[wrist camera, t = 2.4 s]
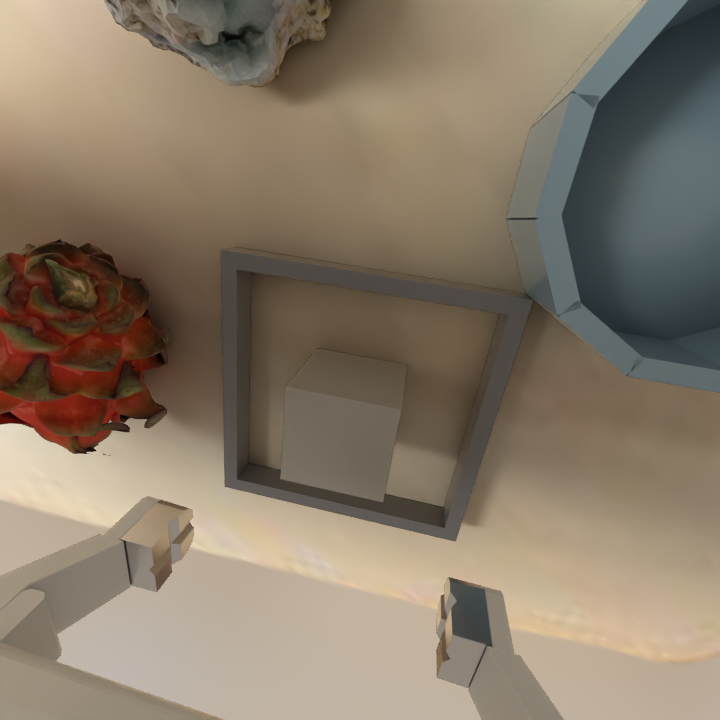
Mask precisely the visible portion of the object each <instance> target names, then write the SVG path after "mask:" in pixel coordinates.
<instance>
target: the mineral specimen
mask: <svg viewBox="0 0 720 720" xmlns="http://www.w3.org/2000/svg"><path fill="white" fill-rule="evenodd" d="M104 1H105V3H106V5H107V7H108V8H109V10H110V12H111V14H112V16H113V17H114V19H115V21H116V23H117V24H119V25H121V26H122V27H124V28H125V29H126V30H127V31H132V32H136V33H139V34H140V35H142V36H144V37H145V38H147V39H149V41H150V42H151V44H152V45H153V46H154V47H156V48H159V49H162V50H170V51H173V52H176V53H178V54H181V55H182V56H184V57H186V58H187V59H188V60H189V61H190V62H191V63H192V64H194V65H197V66H199V67H201V68H203V69H205V70H207V71H209V72H210V73H211V74H212V75H213V76H214V77H215V78H217V79H218V80H220V81H222V82H223V83H225V84H227V85H229V86H241V85H250V86H252V87H263V86H265V85H266V84H268V83H269V82H271V81H272V80H274V79H276V78H277V77H279V66H280V64H281V63H282V61H283V58H284V56H285V53H286V51H287V50H288V49H289V48H290V47H291V46H293V45H295V44H297V43H299V42H311V41H315V40H319V41H322V40H323V39H324V37H325V35H326V31H325V27H326V21H327V18H328V16H329V15H330V12H331V0H104Z"/></svg>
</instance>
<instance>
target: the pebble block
mask: <svg viewBox="0 0 720 720" xmlns="http://www.w3.org/2000/svg"><path fill="white" fill-rule="evenodd" d="M406 370H407V365H405V364H400V363H394V362H389V361H383V360H378V359H373V358H367V357H362V356H356V355H351V354H346V353H340V352H335V351H330V350H324V349H319V348H317V349H316V351H315V352H314V353H313V354H312V355H311V357H310V358H309V359H308V360H307V361H306V362H305V364H304V365H303V366H302V367H301V368H300V370H299V371H298V372H297V373H296V374H295V376H294V377H293V378H292V379H291V380H290V382H289V383H288V384H287V385H286V386H285V403H284V421H283V440H282V458H281V476H280V479H283V480H287V481H291V482H296V483H300V484H305V485H309V486H313V487H318V488H322V489H327V490H331V491H335V492H340V493H344V494H348V495H353V496H357V497H362V498H366V499H370V500H375V501H379V502H383V500H384V495H385V490H386V485H387V480H388V475H389V470H390V465H391V460H392V455H393V450H394V445H395V440H396V435H397V430H398V425H399V420H400V415H401V410H402V403H403V395H404V387H405V378H406Z"/></svg>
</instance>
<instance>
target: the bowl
mask: <svg viewBox="0 0 720 720" xmlns="http://www.w3.org/2000/svg"><path fill="white" fill-rule="evenodd" d="M506 218H509V219H507V220H506V222H507V225H508V229H509V233H510V237H511V241H512V244H513V248H514V252H515V256H516V260H517V263H518V267H519V271H520V275H521V278H522V282H523V286H524V290H525V292H526V294H527V295H529V296H530V297H531V298H532V299H533V300H534V301H536V302H537V303H538V304H539V305H540V306H541V307H542V308H544V309H545V310H546V311H547V312H548V313H549V314H551V315H552V316H553V317H554V318H555V319H556V320H558V321H559V322H560V323H561V324H562V325H563V326H564V327H566V328H567V329H568V330H569V331H570V332H571V333H573V334H574V335H575V336H576V337H577V338H578V339H580V340H581V341H582V342H584V343H585V344H586V345H587V346H589V347H590V348H591V349H593V350H594V351H595V352H596V353H598V354H599V355H600V356H602V357H603V358H604V359H605V360H607V361H608V362H609V363H610V364H612V365H613V366H614V367H616V368H617V369H618V370H619V371H621V372H622V373H623V374H625V375H627V376H628V377H634V378H639V379H645V380H651V381H656V382H662V383H667V384H673V385H678V386H684V387H690V388H695V389H701V390H706V391H712V392H717V393H720V0H642V1H641V2H640V3H639V4H638V5H637V6H636V7H635V8H634V9H633V10H632V11H631V12H630V13H629V14H628V15H627V16H626V17H625V18H624V19H623V20H622V21H621V22H620V23H619V24H618V25H617V26H616V27H615V28H614V29H613V30H612V31H611V32H610V33H609V34H608V35H607V36H606V37H605V38H604V39H603V41H602V42H601V43H600V44H599V45H598V47H597V48H596V49H595V50H594V52H593V53H592V54H591V55H590V56H589V58H588V59H587V60H586V61H585V62H584V64H583V65H582V66H581V67H580V68H579V70H578V71H577V72H576V73H575V74H574V76H573V77H572V78H571V79H570V81H569V82H568V83H567V84H566V85H565V87H564V88H563V89H562V90H561V91H560V93H559V94H558V95H557V96H556V97H555V99H554V100H553V101H552V102H551V104H550V105H549V106H548V107H547V108H546V110H545V111H544V112H543V113H542V114H541V116H540V117H539V118H538V119H537V120H536V122H535V123H534V124H533V125H532V128H531V129H530V131H529V135H528V139H527V142H526V146H525V150H524V153H523V157H522V161H521V165H520V168H519V172H518V176H517V179H516V183H515V187H514V191H513V194H512V198H511V202H510V206H509V209H508V213H507V217H506Z"/></svg>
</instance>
